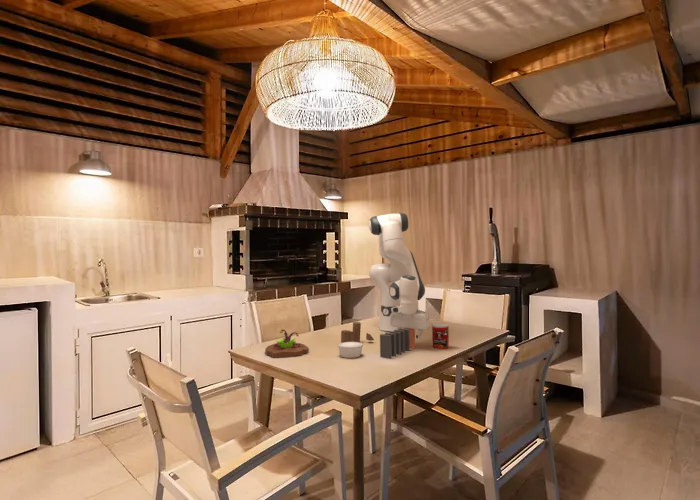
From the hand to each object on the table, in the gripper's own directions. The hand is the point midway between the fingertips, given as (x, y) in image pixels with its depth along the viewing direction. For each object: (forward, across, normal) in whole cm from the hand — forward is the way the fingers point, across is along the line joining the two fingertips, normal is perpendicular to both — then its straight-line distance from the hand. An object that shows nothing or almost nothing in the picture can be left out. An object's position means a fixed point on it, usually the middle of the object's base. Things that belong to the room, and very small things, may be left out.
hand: (409, 337), depth 201 cm
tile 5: (+5, 0, +22) cm, 22 cm away
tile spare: (+5, 0, 0) cm, 5 cm away
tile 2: (+5, 0, +10) cm, 11 cm away
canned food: (+5, -12, -9) cm, 16 cm away
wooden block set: (+5, +27, +8) cm, 29 cm away
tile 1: (+5, 0, +6) cm, 8 cm away
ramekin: (+5, +15, +28) cm, 32 cm away
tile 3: (+5, 0, +14) cm, 14 cm away
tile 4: (+5, 0, +18) cm, 18 cm away
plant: (+6, +45, +40) cm, 60 cm away
